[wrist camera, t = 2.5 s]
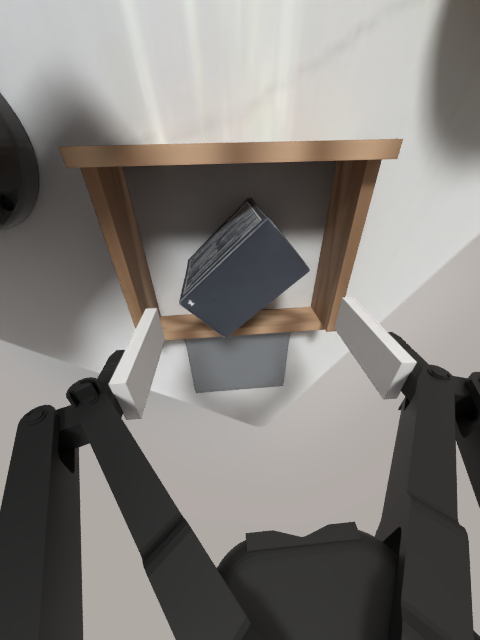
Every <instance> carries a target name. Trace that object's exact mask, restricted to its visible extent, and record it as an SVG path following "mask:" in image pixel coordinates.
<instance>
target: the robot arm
mask: <svg viewBox="0 0 480 640" xmlns="http://www.w3.org/2000/svg"><path fill="white" fill-rule="evenodd" d="M38 189H39V176H38V168H37V163H36V159H35V156H34V152H33V149H32V147H31V144H30V142H29V139H28V137H27V135H26V133H25V131H24V129H23V127H22V125H21V123H20V121H19V120H18V118H17V116H16V115H15V113H14V112H13V110H12V109H11V107H10V106H9V104H8V103H7V101H6V100H5V99H4V97H3V96H2V95H1V94H0V230H3V229H6V228H9V227H12V226H14V225H17V224H18V223H20V222H21V221H23V220H24V219H25V218H26V217H27V216H28V215H29V214H30V212H31V211H32V209H33V207H34V205H35V203H36V200H37V196H38ZM335 330H336V331H337V333H338V334H339V336H340V337H341V339H342V340H343V342H344V343H345V344H346V346H347V347H348V349H349V350H350V352H351V353H352V355H353V356H354V357H355V359H356V360H357V362H358V363H359V365H360V366H361V368H362V369H363V370H364V372H365V373H366V375H367V376H368V378H369V379H370V380H371V382H372V384H373V385H374V386H375V388H376V389H377V391H378V392H379V393H380V395H381V397H382V398H383V399H395V398H397V397H398V395H399V393H400V391H402V393H403V394H404V395H405V398H404V400H403V402H402V404H401V405H400V407H399V409H398V410H401V415H400V420H399V426H398V431H397V437H396V442H395V447H394V453H393V459H392V464H391V470H390V475H389V481H388V486H387V491H386V497H385V502H384V508H383V513H382V518H381V522H380V525H379V527H378V530H377V531H376V535H375V537H374V536H372V535H370V534H368V533H365V532H363V531H360V530H358V529H357V526H356V524H355V522H349V523H340V524H330V525H327V526H325V527H323V528H321V529H319V530H317V531H315V532H313V533H311V534H309V535H307V536H305V537H299V536H294V535H290V534H286V533H282V532H277V531H263V532H254V533H246V540H245V541H243V542H241V543H239V544H238V545H237V546H235V547H234V548H233V549H231V550H230V552H228V554H227V555H226V556H225V557H224V558H223V559H222V561H221V562H220V564H219V566H218V567H217V568H216V567H215V565H214V564H213V562H212V561H211V559H210V557H209V556H208V554H207V553H206V551H205V549H204V548H203V546H202V545H201V543H200V541H199V540H198V538H197V537H196V535H195V534H194V532H193V530H192V529H191V527H190V526H189V524H188V523H187V521H186V520H185V519H184V518H183V516H182V515H181V513H180V512H179V510H178V508H177V507H176V505H175V504H174V502H173V500H172V499H171V497H170V495H169V494H168V492H167V491H166V489H165V487H164V486H163V485H162V483H161V481H160V479H159V478H158V476H157V475H156V473H155V472H154V470H153V468H152V467H151V465H150V463H149V462H148V460H147V459H146V457H145V455H144V454H143V453H142V451H141V449H140V447H139V446H138V444H137V443H136V441H135V440H134V438H133V437H132V435H131V433H130V432H129V430H128V428H127V427H126V425H125V424H124V422H123V420H122V419H121V417H122V415H123V414H124V416H125V418H126V420H131V419H141V418H142V414H143V411H144V408H145V404H146V401H147V398H148V394H149V391H150V388H151V384H152V381H153V378H154V374H155V371H156V368H157V364H158V361H159V358H160V354H161V351H162V348H163V344H164V341H165V337H164V333H163V329H162V325H161V321H160V318H159V314H158V310H157V308H149V309H145V311H144V313H143V315H142V317H141V319H140V321H139V323H138V325H137V327H136V330H135V332H134V334H133V336H132V338H131V340H130V342H129V344H128V346H127V348H126V350H116V351H115V352H114V353H113V354H112V355H111V356H110V357H109V359H108V360H107V362H106V365H105V366H104V368H103V371H101V373H100V375H99V376H98V378H97V379H96V378H92V377H91V378H84V379H82V380H79V381H78V382H76V383H74V384H73V385H72V386H71V387H70V388H69V389H68V391H67V393H66V397H67V399H68V400H69V402H70V403H71V405H70V406H67V407H64V408H61V409H58V410H55V408H54V407H52V406H51V405H43V406H39V407H37V408H35V409H32V410H31V411H30V412H28V413H27V414H25V415H24V416H23V418H22V419H21V420H20V422H19V424H18V428H17V432H16V437H15V442H14V447H13V452H12V456H11V461H10V466H9V471H8V476H7V481H6V485H5V490H4V495H3V500H2V505H1V510H0V640H83V615H82V613H83V611H82V571H81V570H82V569H81V527H80V526H81V525H80V483H79V447H81V446H83V445H86V444H89V443H90V444H91V446H92V449H93V451H94V453H95V455H96V458H97V460H98V462H99V464H100V466H101V469H102V471H103V473H104V475H105V477H106V479H107V482H108V484H109V486H110V488H111V491H112V493H113V495H114V497H115V499H116V501H117V504H118V506H119V508H120V510H121V512H122V514H123V517H124V519H125V521H126V523H127V525H128V528H129V530H130V532H131V534H132V537H133V539H134V541H135V543H136V545H137V548H138V550H139V552H140V554H141V557H142V560H143V565H144V569H145V571H146V574H147V576H148V578H149V581H150V583H151V585H152V587H153V590H154V592H155V594H156V596H157V599H158V601H159V603H160V605H161V607H162V610H163V612H164V614H165V616H166V619H167V621H168V623H169V625H170V628H171V630H172V632H173V634H174V637H175V639H176V640H480V636H479V635H478V634H477V633H476V632H475V631H474V630H473V616H472V597H471V578H470V559H469V541H468V535H467V532H466V530H465V528H464V527H462V526H461V525H459V522H458V518H457V517H458V516H457V477H456V441H457V445H458V447H459V450H460V453H461V456H462V458H463V462H464V464H465V467H466V470H467V473H468V476H469V479H470V482H471V484H472V487H473V490H474V493H475V496H476V499H477V501H478V504H479V507H480V372H474V373H472V374H471V375H470V376H469V378H461V377H455V376H452V375H451V374H450V373H449V372H448V371H446V370H445V369H443V368H441V367H438V366H435V365H429V364H428V363H427V362H425V360H424V359H423V358H422V357H420V356H419V355H418V354H417V353H416V352H415V351H414V350H413V349H411V347H410V346H409V345H408V344H406V342H405V341H404V340H403V339H402V338H401V337H399V336H398V335H396V334H394V333H393V332H387V331H386V330H385V329H384V328H383V327H382V326H381V325H380V324H379V323H378V322H377V321H376V320H375V319H374V318H373V317H372V316H371V315H370V314H369V313H368V312H367V311H366V310H365V309H364V308H363V307H362V306H361V305H360V304H359V303H358V302H357V301H356V300H355V299H354V298H353V297H342V301H341V305H340V309H339V313H338V316H337V320H336V324H335Z"/></svg>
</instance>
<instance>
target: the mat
mask: <svg viewBox="0 0 480 640" xmlns="http://www.w3.org/2000/svg"><path fill="white" fill-rule="evenodd" d="M289 335H290V332H280V333H265V334H251V335H236V336H228V337H227V338H224V337H223V336H222V337H207V338H192V339H185V341H186V346H187V351H188V356H189V361H190V366H191V371H192V376H193V381H194V386H195V391H196V393H201V392H213V391H226V390H238V389H250V388H263V387H275V386H283V383H284V375H285V367H286V359H287V351H288V343H289Z"/></svg>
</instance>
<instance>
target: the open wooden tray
mask: <svg viewBox="0 0 480 640" xmlns="http://www.w3.org/2000/svg"><path fill="white" fill-rule="evenodd" d="M402 141H403V139H380V140H334V141H289V142H244V143H199V144H154V145H109V146H64V147H59V149H60V152H61V155H62V157H63V160H64V163H65V166H66V168H80V169H81V171H82V174H83V177H84V180H85V183H86V186H87V189H88V192H89V195H90V198H91V201H92V203H93V206H94V209H95V212H96V215H97V218H98V221H99V224H100V227H101V230H102V233H103V235H104V238H105V241H106V244H107V247H108V250H109V253H110V256H111V259H112V262H113V265H114V267H115V270H116V273H117V276H118V279H119V282H120V285H121V288H122V291H123V294H124V297H125V299H126V302H127V305H128V308H129V311H130V314H131V317H132V320H133V323H134V326H135V329H136V327H137V325H138V323H139V321H140V319H141V317H142V315H143V313H144V311H145V309H149V308H157V310H158V314H159V318H160V321H161V325H162V329H163V333H164V337H165V340H178V339H192V338H207V337H222V335H220V334H219V333H217V332H216V331H215V330H213V329H212V328H211V327H209V326H208V325H207V324H205V323H204V322H203V321H201V320H200V319H199V318H197V317H196V316H195V315H193V314H191V315H175V316H160V312H159V308H158V304H157V300H156V296H155V292H154V288H153V285H152V281H151V277H150V273H149V269H148V265H147V261H146V257H145V253H144V250H143V246H142V242H141V238H140V234H139V230H138V226H137V222H136V219H135V215H134V211H133V207H132V203H131V199H130V195H129V191H128V187H127V184H126V180H125V176H124V172H123V168H122V166H154V165H191V164H228V163H265V162H302V161H337V163H336V169H335V174H334V180H333V186H332V191H331V197H330V203H329V208H328V214H327V219H326V225H325V231H324V236H323V242H322V248H321V253H320V259H319V265H318V270H317V276H316V281H315V287H314V293H313V298H312V304H311V307H303V308H287V309H271V310H260V311H259V312H258V313H256V314H255V315H254V316H253V317H251V318H250V319H249V320H248V321H246V322H245V323H244V324H243V325H242V326H240V327H239V328H238V329H237V330H235V331H234V332H233V333H232V334H230V335H229V336H236V335H251V334H265V333H280V332H295V331H309V330H324V329H325V330H326V332H331V331H336V330H335V324H336V320H337V316H338V313H339V309H340V305H341V301H342V297H345V295H346V291H347V288H348V284H349V280H350V276H351V273H352V269H353V265H354V261H355V258H356V254H357V250H358V246H359V243H360V239H361V235H362V231H363V228H364V224H365V220H366V217H367V213H368V209H369V205H370V202H371V198H372V194H373V190H374V187H375V183H376V179H377V175H378V172H379V168H380V164H381V160H382V159H397V158H398V154H399V151H400V148H401V144H402Z"/></svg>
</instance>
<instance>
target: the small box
mask: <svg viewBox="0 0 480 640" xmlns="http://www.w3.org/2000/svg"><path fill="white" fill-rule="evenodd" d="M309 271H310V269H309V268H308V266H307V265H306V263H305V262H304V261H303V259H302V258H301V257H300V256H299V254H298V253H297V252H296V250H295V249H294V248H293V247H292V245H291V244H290V243H289V242H288V240H287V239H286V238H285V237H284V235H283V234H282V233H281V232H280V231H279V229H278V228H277V227H276V226H275V225H274V223H273V222H272V221H271V219H269V218H268V217H267V216H266V215H265V214H264V213H263V212H262V211H261V210H260V208H259V207H258V206H257V205H256V203H255V202H254V201H253V199H252V198H248V199H247V201H246V202H245V203H244V204H242V205H241V206H240V207H239V208H238V210H237V211H236V212H235V213H234V214H233V215H232V216H231V217H230V218H229V219H227V220H226V222H225V223H224V224H223V225H222V226H221V227H220V228H219V229H218V230H217V231H216V232H215V233H214V234H213V235H212V236H211V237H210V238H209V239H208V240H207V241H206V242H205V243H204V244H203V245H202V246H201V247H200V248H199V249H198V250H197V251H196V252H195V254H194V255H193V256H192V257H191V258H190V259H189V260H188V265H187V271H186V275H185V279H184V284H183V288H182V293H181V297H180V301H179V304H180V305H181V306H182V307H184V308H185V309H187V310H188V311H189V312H191V313H192V314H193V315H195V316H196V317H197V318H199V319H200V320H201V321H203V322H204V323H205V324H207V325H208V326H209V327H211V328H212V329H213V330H215V331H216V332H217V333H219V334H220V335H222V336H223V337H224V338H227V337H228V336H229V335H230V334H232V333H233V332H234V331H235V330H237V329H238V328H239V327H240V326H242V325H243V324H244V323H245V322H246V321H248V320H249V319H250V318H251V317H253V316H254V315H255V314H256V313H258V312H259V311H260V310H261V309H263V308H264V307H265V306H266V305H268V304H269V303H270V302H271V301H273V300H274V299H275V298H276V297H278V296H279V295H280V294H281V293H283V292H284V291H285V290H286V289H288V288H289V287H290V286H292V285H293V284H294V283H295V282H297V281H298V280H299V279H300V278H302V277H303V276H304V275H305V274H307V273H308V272H309Z"/></svg>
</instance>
